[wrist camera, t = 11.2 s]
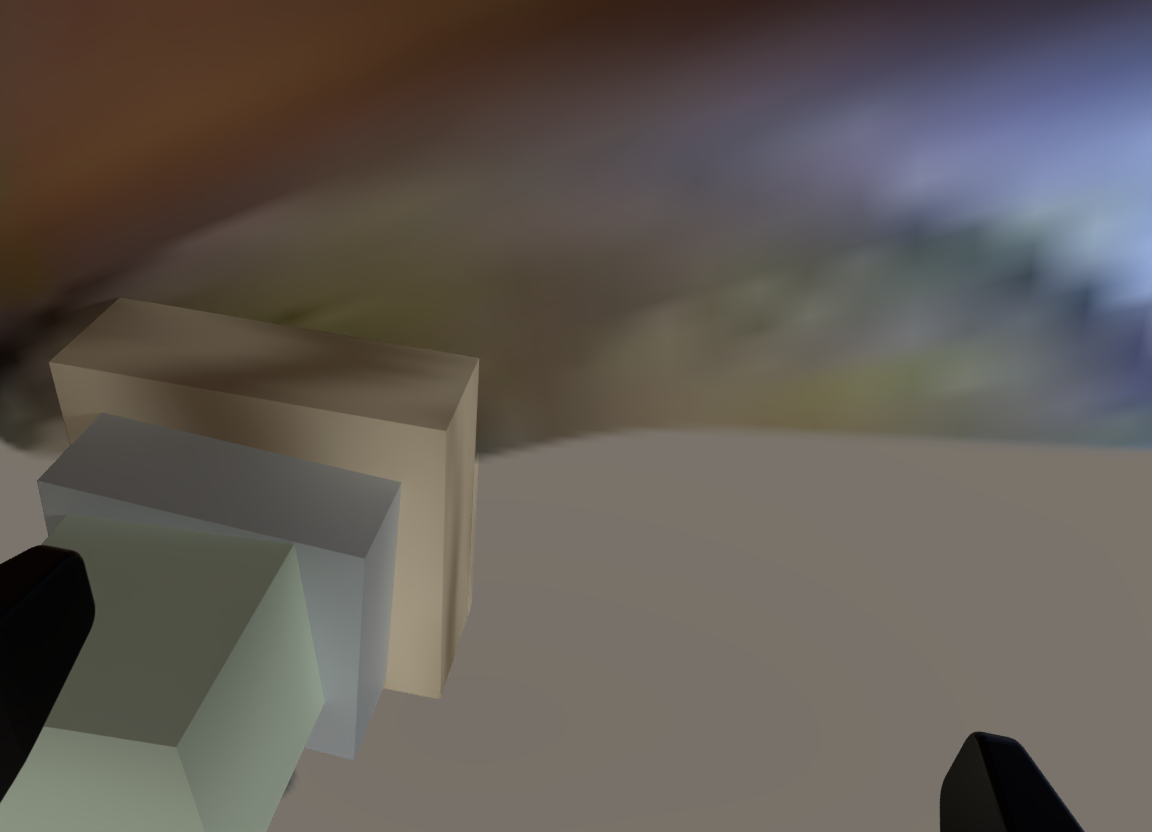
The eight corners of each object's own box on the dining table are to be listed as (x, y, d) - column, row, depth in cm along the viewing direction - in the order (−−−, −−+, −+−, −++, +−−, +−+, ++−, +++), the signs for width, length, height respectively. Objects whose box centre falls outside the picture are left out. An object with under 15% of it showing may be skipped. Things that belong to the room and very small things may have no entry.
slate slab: (401, 482, 22) (364, 558, 20) (385, 680, 27) (353, 760, 25) (102, 412, 23) (36, 480, 21) (132, 619, 27) (81, 693, 25)
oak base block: (484, 347, 24) (446, 431, 21) (471, 604, 30) (439, 699, 27) (130, 287, 25) (48, 362, 22) (180, 549, 30) (119, 637, 27)
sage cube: (294, 543, 20) (176, 747, 16) (324, 702, 23) (230, 909, 19) (68, 514, 21) (-99, 703, 17) (125, 672, 24) (-7, 866, 20)
